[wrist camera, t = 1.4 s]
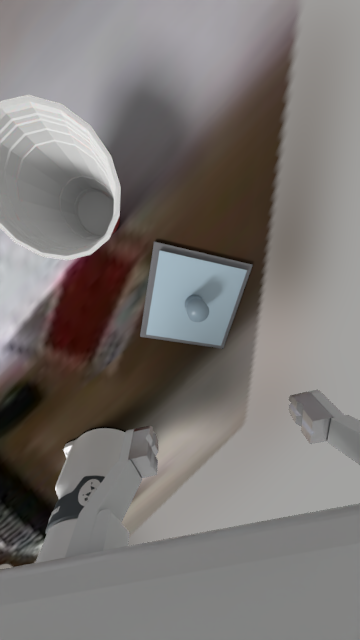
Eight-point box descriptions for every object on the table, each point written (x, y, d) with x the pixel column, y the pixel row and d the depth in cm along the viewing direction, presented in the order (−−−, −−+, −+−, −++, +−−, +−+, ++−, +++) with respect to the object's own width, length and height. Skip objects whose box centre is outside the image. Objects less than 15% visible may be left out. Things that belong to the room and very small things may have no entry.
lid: (219, 343, 34) (228, 358, 29) (146, 332, 32) (143, 346, 27) (244, 269, 29) (259, 274, 24) (159, 250, 27) (159, 251, 22)
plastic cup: (148, 186, 24) (135, 135, 13) (128, 264, 28) (105, 277, 16) (62, 147, 22) (-44, 44, 11) (53, 238, 25) (-33, 232, 14)
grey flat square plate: (222, 347, 35) (223, 348, 34) (140, 335, 32) (140, 336, 32) (251, 264, 29) (252, 264, 29) (154, 241, 27) (154, 241, 26)
